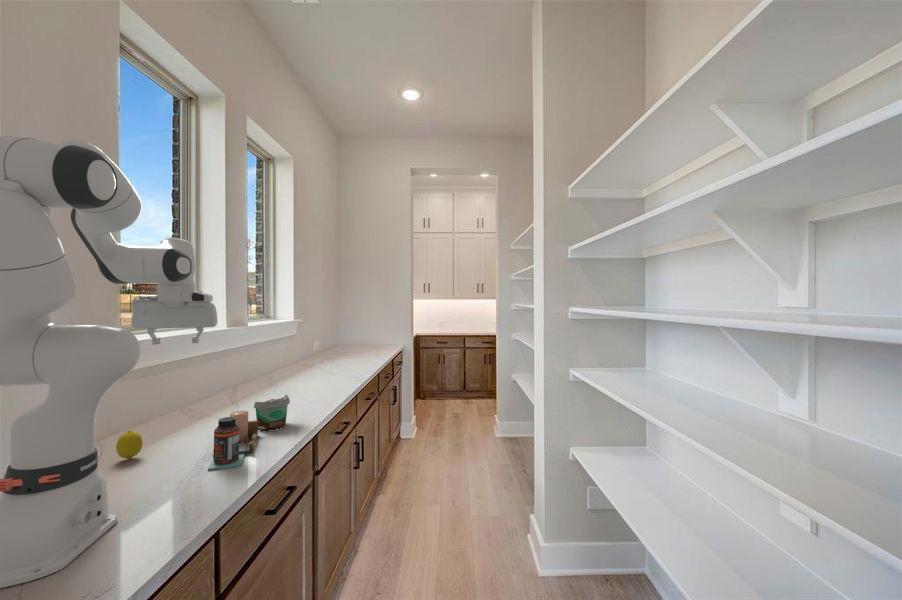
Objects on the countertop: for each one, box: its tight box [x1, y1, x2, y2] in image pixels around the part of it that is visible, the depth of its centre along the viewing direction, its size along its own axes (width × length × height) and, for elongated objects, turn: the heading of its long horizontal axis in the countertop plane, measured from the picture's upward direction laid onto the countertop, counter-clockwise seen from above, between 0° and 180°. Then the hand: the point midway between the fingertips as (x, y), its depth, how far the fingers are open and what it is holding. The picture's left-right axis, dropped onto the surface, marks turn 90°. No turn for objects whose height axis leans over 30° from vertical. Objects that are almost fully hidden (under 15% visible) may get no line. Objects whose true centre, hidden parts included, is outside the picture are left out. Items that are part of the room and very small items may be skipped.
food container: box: [253, 394, 291, 432], centre depth 133 cm, size 12×6×10 cm, turn 148°
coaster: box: [207, 454, 245, 472], centre depth 104 cm, size 8×8×1 cm
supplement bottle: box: [213, 416, 240, 465], centre depth 104 cm, size 6×6×11 cm
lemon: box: [115, 429, 143, 460], centre depth 106 cm, size 6×6×8 cm
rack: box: [212, 419, 259, 459], centre depth 116 cm, size 16×10×5 cm, turn 22°
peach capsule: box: [229, 410, 249, 445], centre depth 120 cm, size 5×5×9 cm
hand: (176, 343), depth 112 cm, fingers open, 8 cm apart
